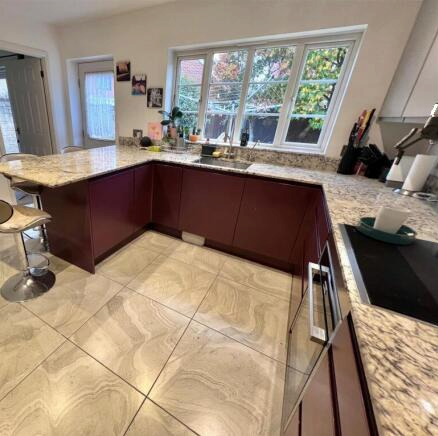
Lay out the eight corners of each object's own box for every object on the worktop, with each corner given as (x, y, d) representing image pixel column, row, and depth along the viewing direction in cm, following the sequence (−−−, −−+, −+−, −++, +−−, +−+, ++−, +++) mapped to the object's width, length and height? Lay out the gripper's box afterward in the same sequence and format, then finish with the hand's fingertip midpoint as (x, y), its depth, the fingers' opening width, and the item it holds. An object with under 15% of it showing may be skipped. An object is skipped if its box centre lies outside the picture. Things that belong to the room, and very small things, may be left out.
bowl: (418, 239, 98) (424, 230, 96) (401, 249, 90) (407, 239, 88) (365, 222, 112) (370, 214, 110) (347, 229, 104) (351, 220, 102)
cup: (401, 240, 96) (417, 213, 90) (374, 236, 98) (388, 210, 93) (389, 231, 103) (403, 206, 98) (365, 227, 106) (377, 202, 101)
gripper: (482, 117, 94) (451, 169, 103) (399, 115, 106) (378, 162, 115) (494, 117, 89) (460, 172, 97) (405, 115, 100) (382, 164, 109)
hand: (416, 166), depth 106 cm, fingers open, 13 cm apart
